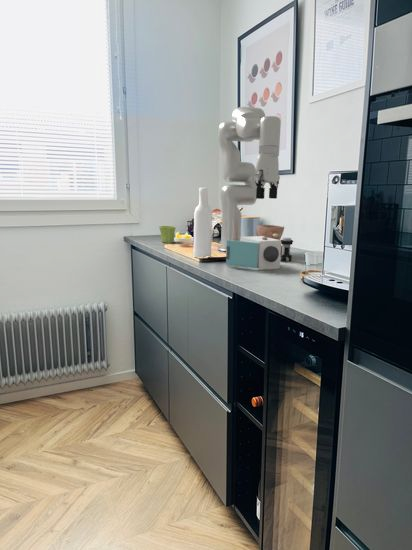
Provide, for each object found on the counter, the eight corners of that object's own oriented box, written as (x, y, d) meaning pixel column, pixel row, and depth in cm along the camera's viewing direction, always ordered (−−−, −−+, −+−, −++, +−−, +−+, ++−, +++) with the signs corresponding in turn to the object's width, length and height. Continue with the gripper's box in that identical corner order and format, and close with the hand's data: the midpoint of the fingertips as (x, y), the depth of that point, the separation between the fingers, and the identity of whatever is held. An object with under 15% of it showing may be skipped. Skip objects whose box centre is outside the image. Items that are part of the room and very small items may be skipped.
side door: (225, 264, 162) (226, 240, 160) (226, 264, 163) (227, 240, 161) (257, 268, 155) (258, 243, 153) (258, 268, 156) (260, 243, 154)
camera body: (239, 263, 169) (240, 234, 167) (260, 262, 173) (261, 234, 171) (260, 270, 155) (261, 239, 153) (282, 269, 160) (283, 238, 157)
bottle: (196, 258, 177) (198, 187, 171) (190, 255, 184) (191, 187, 178) (214, 258, 180) (215, 188, 174) (207, 255, 187) (208, 187, 181)
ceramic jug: (290, 260, 179) (292, 227, 176) (258, 260, 177) (260, 227, 174) (277, 254, 197) (278, 224, 194) (247, 254, 194) (249, 223, 191)
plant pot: (156, 241, 228) (156, 225, 226) (172, 240, 232) (172, 225, 230) (162, 243, 219) (162, 227, 218) (178, 243, 223) (178, 227, 221)
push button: (281, 262, 173) (282, 239, 170) (274, 260, 177) (275, 237, 175) (294, 262, 175) (295, 238, 173) (287, 259, 180) (288, 237, 178)
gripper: (271, 154, 162) (269, 198, 166) (248, 150, 149) (246, 198, 152) (288, 153, 158) (285, 198, 161) (266, 149, 144) (263, 199, 148)
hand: (266, 198), depth 157 cm, fingers open, 9 cm apart
